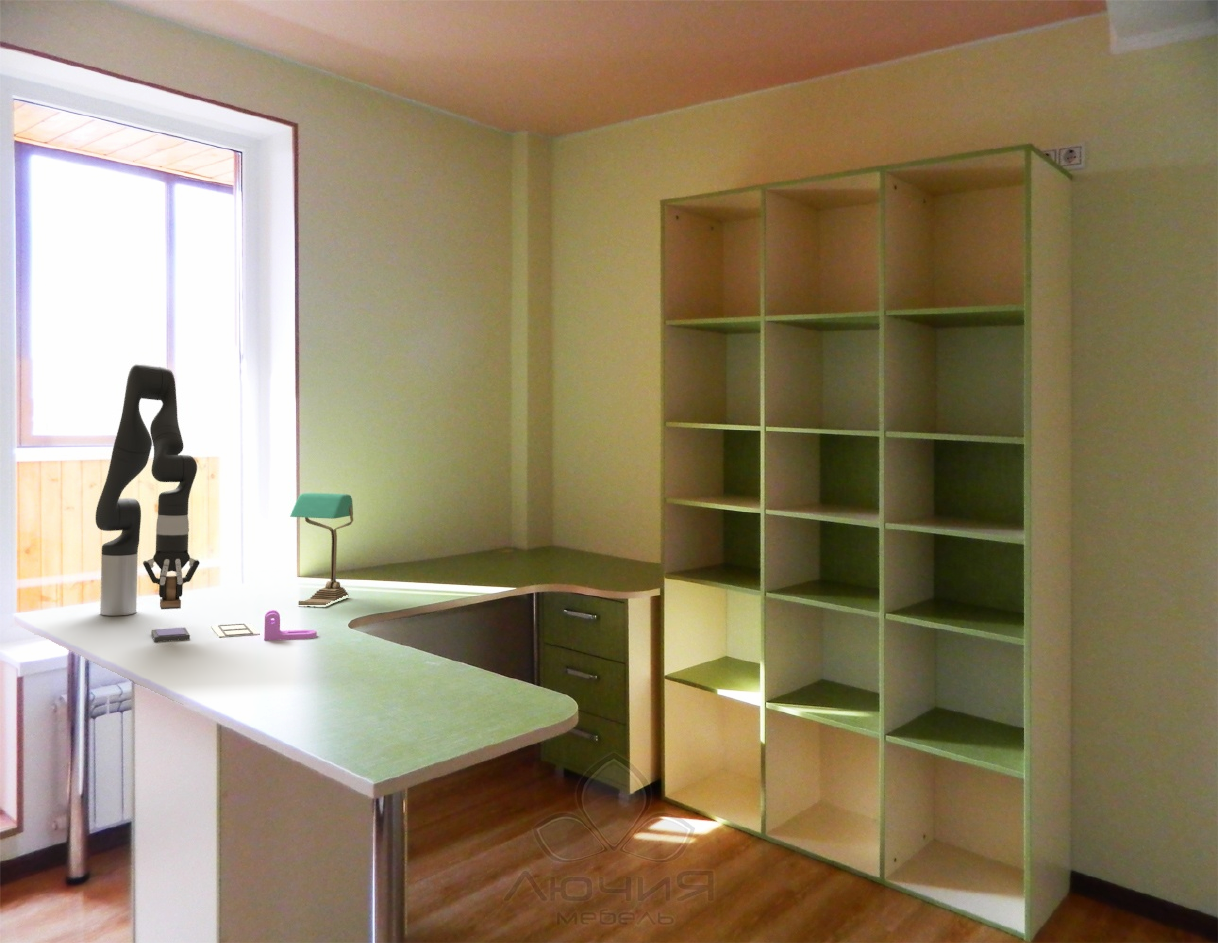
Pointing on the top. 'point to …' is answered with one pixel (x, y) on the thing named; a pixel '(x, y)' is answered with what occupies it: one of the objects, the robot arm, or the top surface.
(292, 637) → the bracket
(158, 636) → the ink pad
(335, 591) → the banker's lamp
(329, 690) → the top surface
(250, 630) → the sheet
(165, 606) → the stamp
